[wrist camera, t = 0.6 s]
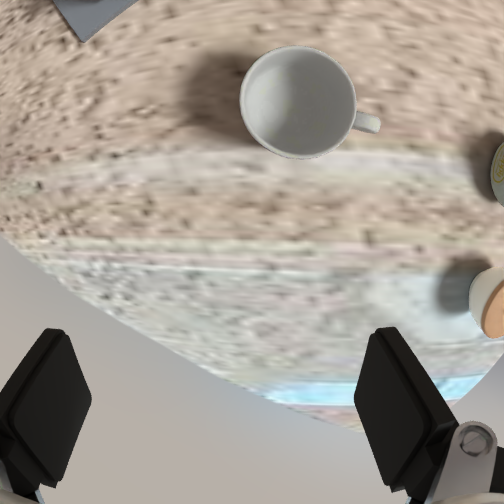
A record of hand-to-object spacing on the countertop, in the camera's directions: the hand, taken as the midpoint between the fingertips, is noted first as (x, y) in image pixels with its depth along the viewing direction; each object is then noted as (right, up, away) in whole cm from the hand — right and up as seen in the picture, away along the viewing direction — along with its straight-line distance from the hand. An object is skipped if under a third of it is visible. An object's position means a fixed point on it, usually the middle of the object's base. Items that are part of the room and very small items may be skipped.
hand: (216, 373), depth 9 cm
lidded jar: (+39, -2, +35) cm, 53 cm away
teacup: (+6, +19, +25) cm, 32 cm away
